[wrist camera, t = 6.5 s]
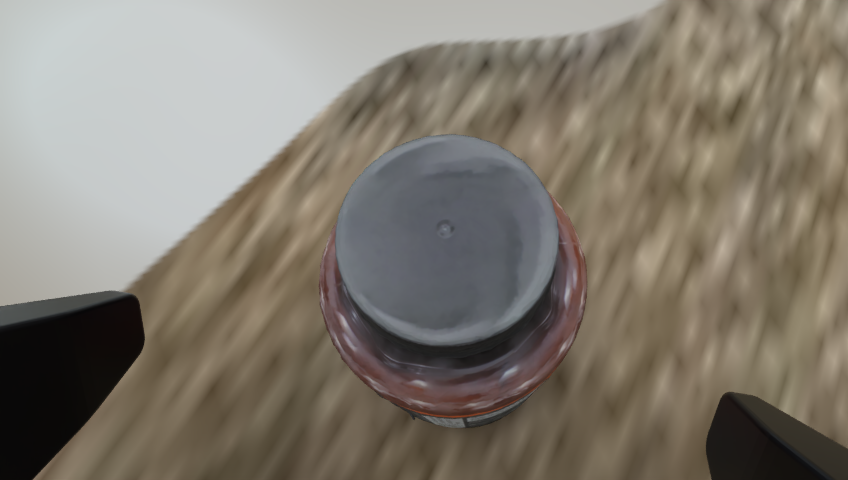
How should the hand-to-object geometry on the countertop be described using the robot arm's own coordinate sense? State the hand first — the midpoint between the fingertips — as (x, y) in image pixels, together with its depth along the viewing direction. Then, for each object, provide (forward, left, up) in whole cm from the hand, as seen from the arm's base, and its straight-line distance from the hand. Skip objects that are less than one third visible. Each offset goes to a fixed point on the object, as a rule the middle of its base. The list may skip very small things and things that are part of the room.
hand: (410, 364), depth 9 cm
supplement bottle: (-2, +2, -12) cm, 12 cm away
